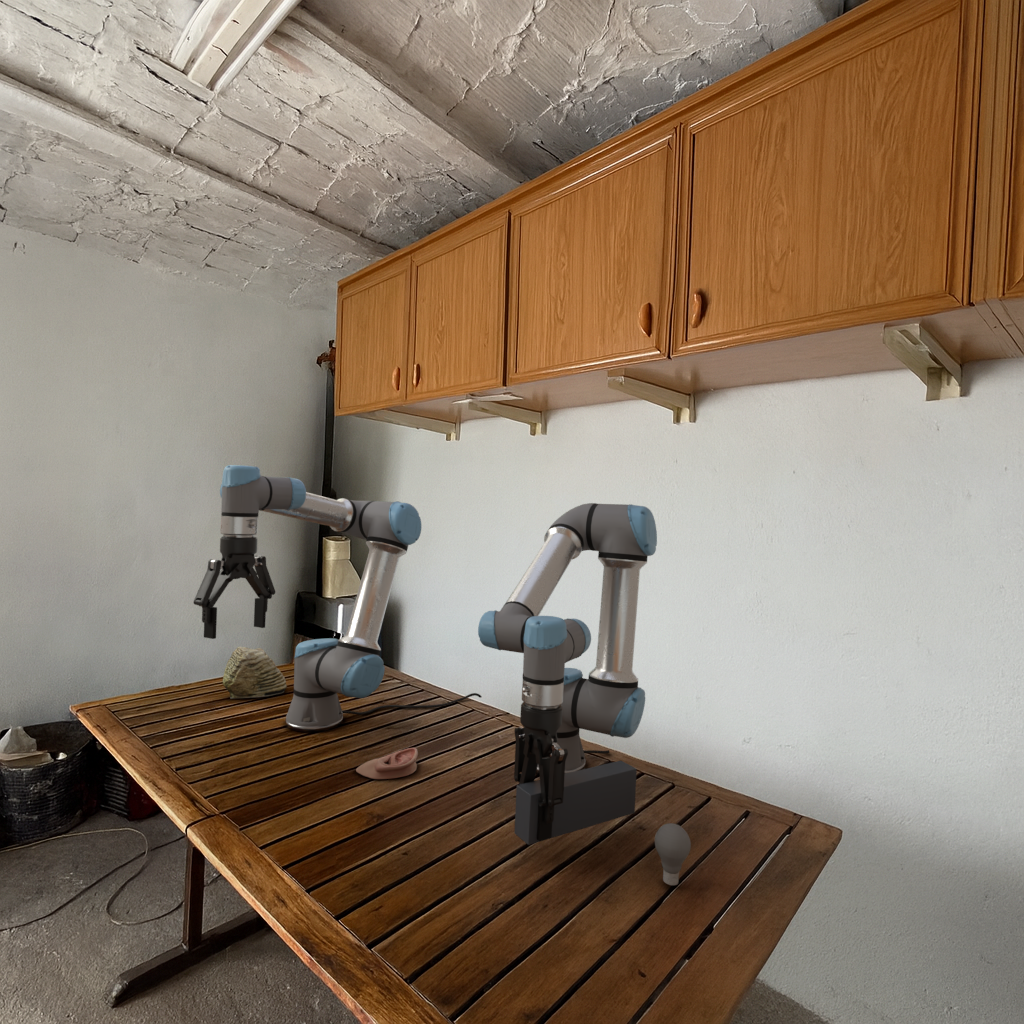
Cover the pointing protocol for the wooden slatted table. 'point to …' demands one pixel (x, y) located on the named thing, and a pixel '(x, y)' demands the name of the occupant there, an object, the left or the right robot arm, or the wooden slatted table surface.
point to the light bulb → (672, 850)
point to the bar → (579, 800)
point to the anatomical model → (390, 765)
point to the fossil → (252, 674)
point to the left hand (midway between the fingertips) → (235, 632)
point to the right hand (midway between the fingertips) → (535, 831)
